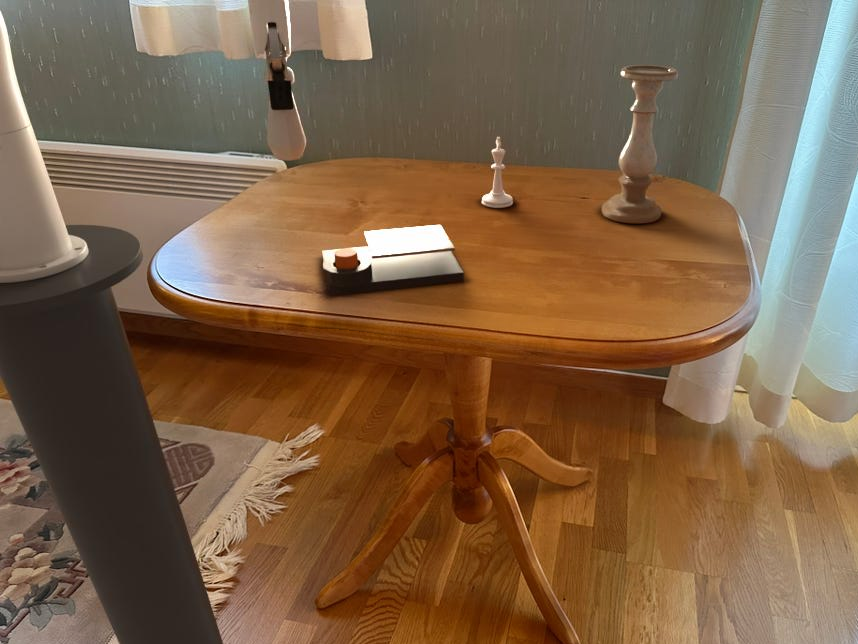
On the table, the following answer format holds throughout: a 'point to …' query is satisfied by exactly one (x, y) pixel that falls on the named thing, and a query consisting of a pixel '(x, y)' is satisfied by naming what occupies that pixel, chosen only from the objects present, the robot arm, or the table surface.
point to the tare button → (346, 258)
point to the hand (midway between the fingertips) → (282, 104)
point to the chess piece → (497, 182)
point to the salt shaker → (285, 129)
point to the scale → (390, 272)
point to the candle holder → (639, 148)
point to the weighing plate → (407, 241)
